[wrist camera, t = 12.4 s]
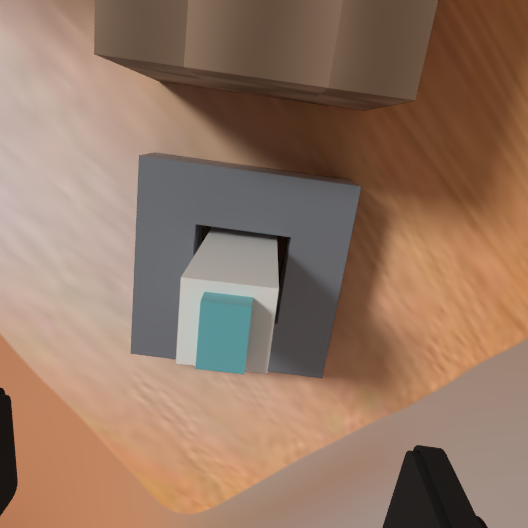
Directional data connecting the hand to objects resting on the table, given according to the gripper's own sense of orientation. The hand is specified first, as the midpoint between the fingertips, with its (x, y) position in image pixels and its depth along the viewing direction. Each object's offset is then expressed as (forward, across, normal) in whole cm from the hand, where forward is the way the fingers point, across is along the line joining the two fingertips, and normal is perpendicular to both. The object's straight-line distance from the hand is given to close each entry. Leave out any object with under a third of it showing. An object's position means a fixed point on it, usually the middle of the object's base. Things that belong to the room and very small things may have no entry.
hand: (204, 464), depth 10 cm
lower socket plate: (+18, +1, +1) cm, 18 cm away
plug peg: (+18, +1, +1) cm, 18 cm away
